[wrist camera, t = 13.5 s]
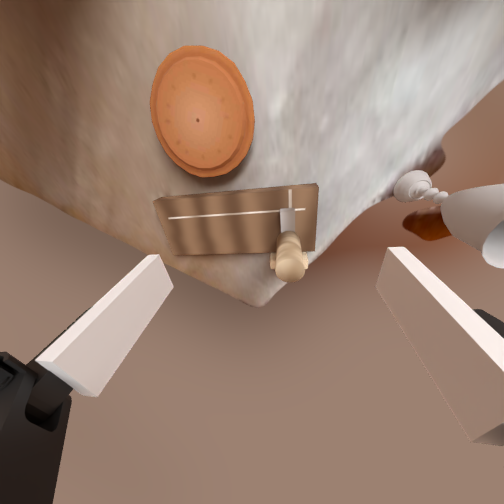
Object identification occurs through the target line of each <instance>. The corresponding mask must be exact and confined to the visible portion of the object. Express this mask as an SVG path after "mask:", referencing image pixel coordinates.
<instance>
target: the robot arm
mask: <svg viewBox="0 0 504 504" xmlns="http://www.w3.org/2000/svg"><path fill="white" fill-rule="evenodd" d="M173 287H174V286H173V284H172V282H171V280H170V277H169V275H168V273H167V271H166V269H165V267H164V264H163V262H162V260H161V258H160V255H148V256H147V257H146V258H145V259H143V260H142V261H141V262H140V263H139V264H138V265H137V266H136V267H135V268H134V269H133V270H132V271H131V272H129V273H128V274H127V275H126V276H125V277H124V278H123V279H122V280H121V281H120V282H119V283H118V284H117V285H115V286H114V287H113V288H112V289H111V290H110V291H109V292H108V293H107V294H106V295H105V296H103V297H102V298H101V299H100V300H99V301H98V302H97V303H96V304H95V305H94V306H92V307H91V308H89V309H88V310H86V311H85V312H84V313H83V314H82V315H81V316H79V317H78V318H77V319H76V321H75V322H73V323H72V324H71V325H70V326H69V327H68V328H67V330H64V331H63V332H62V333H61V334H60V335H59V336H58V337H57V338H55V339H54V340H53V341H52V342H51V343H50V344H49V345H48V346H47V347H46V348H44V349H43V350H42V351H41V352H40V353H39V354H38V355H37V356H36V357H35V358H34V359H33V360H31V361H30V362H29V363H28V364H26V365H25V364H23V363H22V362H20V361H19V360H17V359H16V358H15V357H13V356H12V355H10V354H9V353H7V352H0V504H52V503H53V498H54V493H55V488H56V482H57V477H58V472H59V465H60V461H61V456H62V450H63V445H64V439H65V434H66V429H67V423H68V418H69V412H70V408H71V402H72V400H71V396H69V394H70V392H71V391H72V390H73V389H74V390H76V391H77V392H78V393H80V394H81V395H84V396H93V397H98V396H99V394H100V392H101V391H102V390H103V388H104V387H105V385H106V384H107V382H108V381H109V380H110V378H111V377H112V375H113V374H114V372H115V371H116V369H117V368H118V366H119V365H120V364H121V362H122V361H123V359H124V358H125V357H126V355H127V354H128V352H129V351H130V349H131V348H132V346H133V345H134V343H135V342H136V341H137V339H138V338H139V336H140V335H141V333H142V332H143V330H144V329H145V328H146V326H147V325H148V323H149V322H150V320H151V319H152V317H153V316H154V315H155V313H156V312H157V310H158V308H159V307H160V306H161V304H162V303H163V302H164V300H165V299H166V297H167V295H168V294H169V293H170V291H171V290H172V288H173ZM375 288H376V289H377V291H378V292H379V294H380V296H381V297H382V299H383V301H384V302H385V304H386V305H387V307H388V309H389V310H390V312H391V313H392V315H393V317H394V319H395V320H396V322H397V323H398V325H399V327H400V328H401V330H402V332H403V333H404V335H405V336H406V338H407V339H408V341H409V343H410V345H411V346H412V348H413V349H414V351H415V353H416V354H417V356H418V357H419V359H420V361H421V362H422V364H423V366H424V367H425V369H426V371H427V372H428V374H429V375H430V377H431V379H432V380H433V382H434V383H435V385H436V387H437V388H438V390H439V392H440V393H441V395H442V397H443V398H444V400H445V401H446V403H447V405H448V406H449V408H450V409H451V411H452V413H453V414H454V416H455V418H456V419H457V421H458V423H459V424H460V426H461V428H462V429H463V431H464V432H465V434H466V436H467V437H468V439H469V441H470V442H473V443H481V444H490V445H498V446H503V445H504V323H503V322H502V321H500V320H499V319H497V318H495V317H493V316H492V315H490V314H488V313H487V312H485V311H483V310H480V309H471V308H470V307H469V306H468V305H467V304H466V303H464V302H463V301H462V300H461V299H460V298H459V297H458V296H457V295H456V294H455V293H454V292H453V291H451V290H450V289H449V288H448V287H447V286H446V285H445V284H444V283H443V282H442V281H441V280H440V279H439V278H437V277H436V276H435V275H434V274H433V273H432V272H431V271H430V270H429V269H428V268H426V266H424V265H423V264H422V263H421V262H420V261H419V260H418V259H417V258H416V257H415V256H414V255H412V254H411V253H410V252H409V251H408V250H407V249H406V248H405V247H388V248H387V250H386V254H385V257H384V260H383V263H382V266H381V270H380V273H379V276H378V280H377V283H376V286H375Z"/></svg>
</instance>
